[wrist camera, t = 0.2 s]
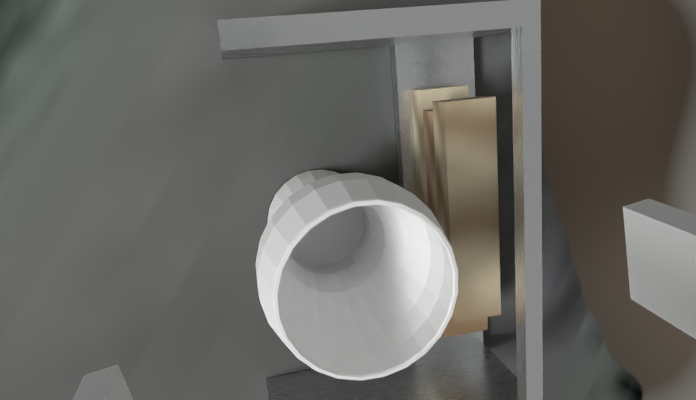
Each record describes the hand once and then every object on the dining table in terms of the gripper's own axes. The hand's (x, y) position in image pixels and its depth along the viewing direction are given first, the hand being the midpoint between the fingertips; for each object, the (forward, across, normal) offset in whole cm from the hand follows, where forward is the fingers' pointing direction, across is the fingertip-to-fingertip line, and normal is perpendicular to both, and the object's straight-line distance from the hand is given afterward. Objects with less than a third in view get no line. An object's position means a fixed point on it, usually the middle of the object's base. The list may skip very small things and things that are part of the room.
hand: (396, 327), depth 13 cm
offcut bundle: (+26, +10, -7) cm, 29 cm away
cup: (+27, 0, -6) cm, 28 cm away
